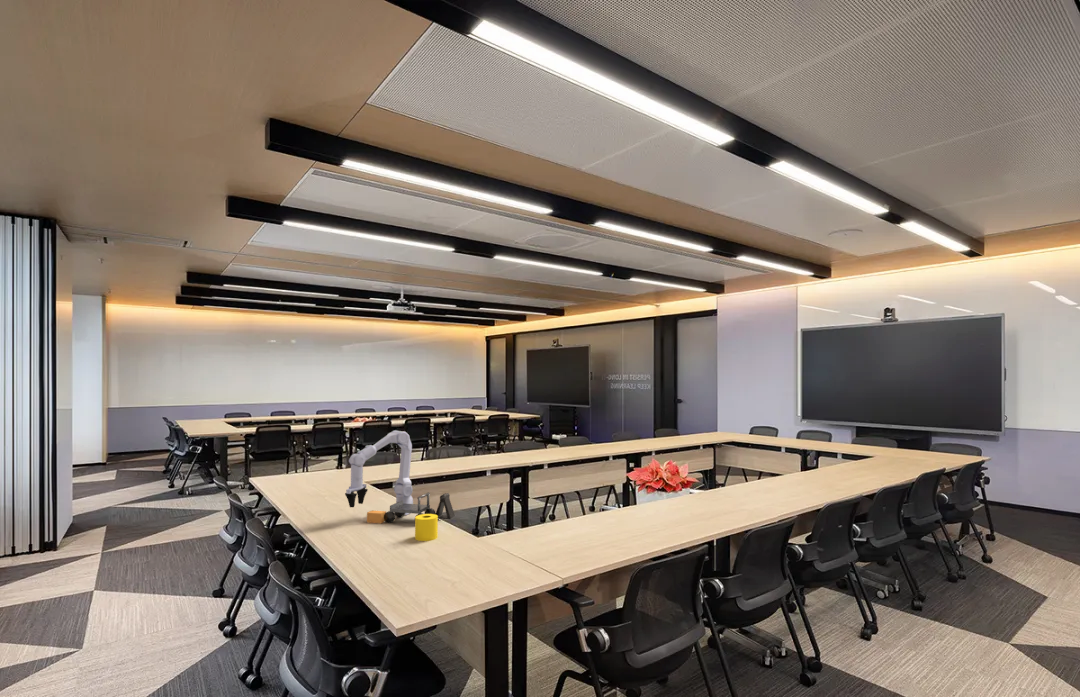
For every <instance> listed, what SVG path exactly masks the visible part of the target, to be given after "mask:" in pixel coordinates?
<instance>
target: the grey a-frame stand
mask: <svg viewBox="0 0 1080 697" xmlns="http://www.w3.org/2000/svg"><path fill="white" fill-rule="evenodd" d="M444 510H445V514H443V512H444ZM435 513H436V515H437V516H438V519H439V520H440V519H441V520H442V519H443V520H451V519H453V518H454V517H455V516H456V514H455V512H454V508H453V506H452V502H451V500H450V493H449V492H444V493H442V494H441V495H440V496H439V503H438V505H437V509H436V510H435Z"/></svg>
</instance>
